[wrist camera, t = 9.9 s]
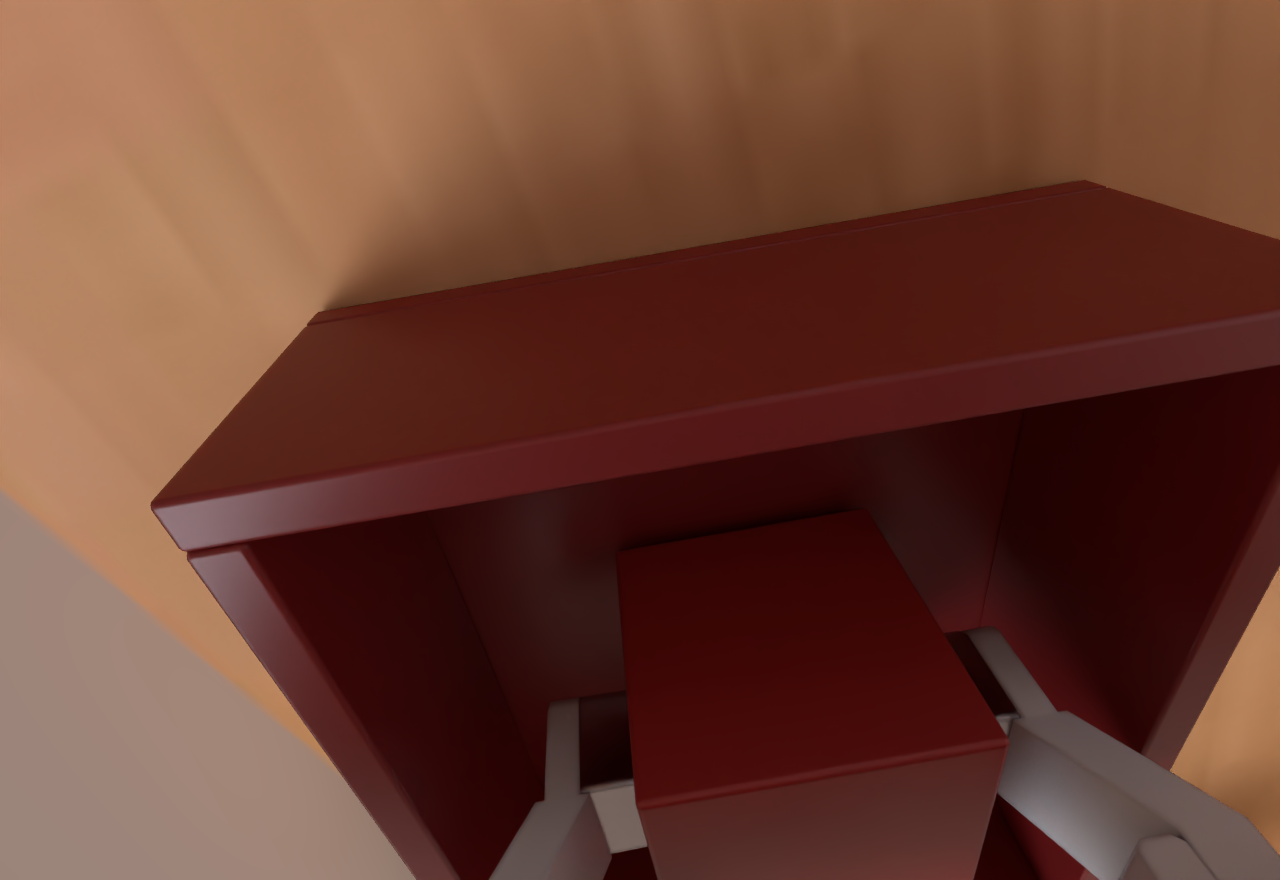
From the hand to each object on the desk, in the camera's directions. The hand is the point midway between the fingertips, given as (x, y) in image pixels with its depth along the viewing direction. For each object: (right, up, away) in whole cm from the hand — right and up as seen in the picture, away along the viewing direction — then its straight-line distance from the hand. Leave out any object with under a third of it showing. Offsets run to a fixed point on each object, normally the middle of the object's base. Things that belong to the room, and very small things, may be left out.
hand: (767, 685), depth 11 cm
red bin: (0, +2, +2) cm, 3 cm away
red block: (0, +1, +1) cm, 2 cm away
